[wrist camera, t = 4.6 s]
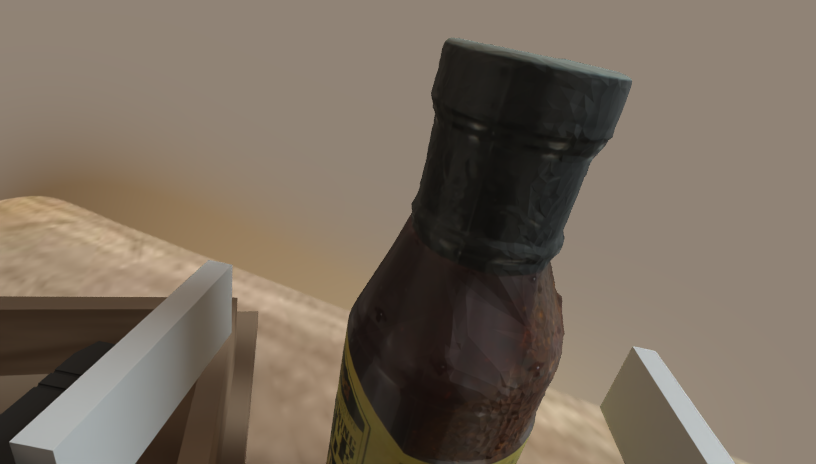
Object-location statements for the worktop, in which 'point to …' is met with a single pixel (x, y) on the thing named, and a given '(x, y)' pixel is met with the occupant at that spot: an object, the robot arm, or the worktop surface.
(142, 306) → the bottle stand
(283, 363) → the worktop surface
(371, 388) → the sauce bottle
